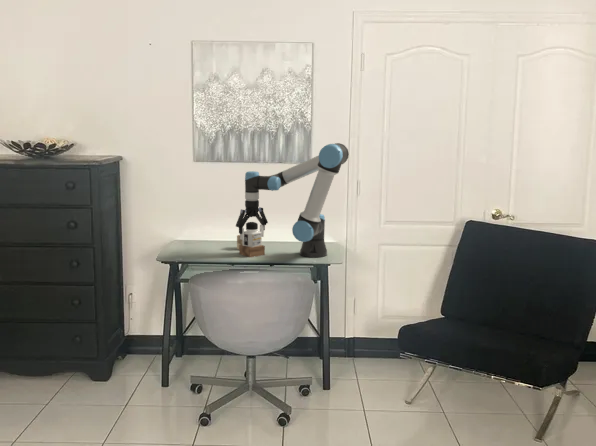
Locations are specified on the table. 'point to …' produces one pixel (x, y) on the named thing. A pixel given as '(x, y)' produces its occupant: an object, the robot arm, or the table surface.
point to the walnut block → (251, 250)
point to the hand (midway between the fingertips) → (251, 238)
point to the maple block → (238, 241)
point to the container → (252, 235)
